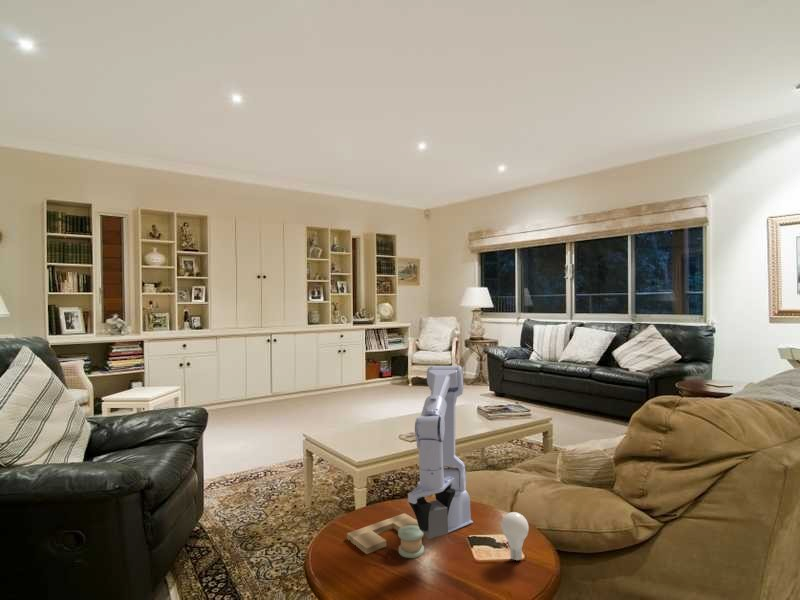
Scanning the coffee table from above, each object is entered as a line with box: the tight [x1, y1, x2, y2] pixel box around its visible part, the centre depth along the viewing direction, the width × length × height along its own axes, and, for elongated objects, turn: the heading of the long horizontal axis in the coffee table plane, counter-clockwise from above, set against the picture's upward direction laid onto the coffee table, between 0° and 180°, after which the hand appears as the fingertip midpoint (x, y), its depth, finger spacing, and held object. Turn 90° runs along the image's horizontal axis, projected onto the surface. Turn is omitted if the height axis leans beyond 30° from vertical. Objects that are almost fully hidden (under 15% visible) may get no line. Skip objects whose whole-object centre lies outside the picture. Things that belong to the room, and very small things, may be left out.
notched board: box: [346, 512, 419, 555], centre depth 125 cm, size 19×10×2 cm, turn 125°
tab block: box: [421, 499, 449, 539], centre depth 110 cm, size 5×5×6 cm
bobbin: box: [397, 525, 425, 559], centre depth 116 cm, size 6×6×5 cm
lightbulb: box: [500, 511, 530, 562], centre depth 111 cm, size 6×6×11 cm
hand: (433, 524), depth 110 cm, fingers closed on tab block, 6 cm apart
